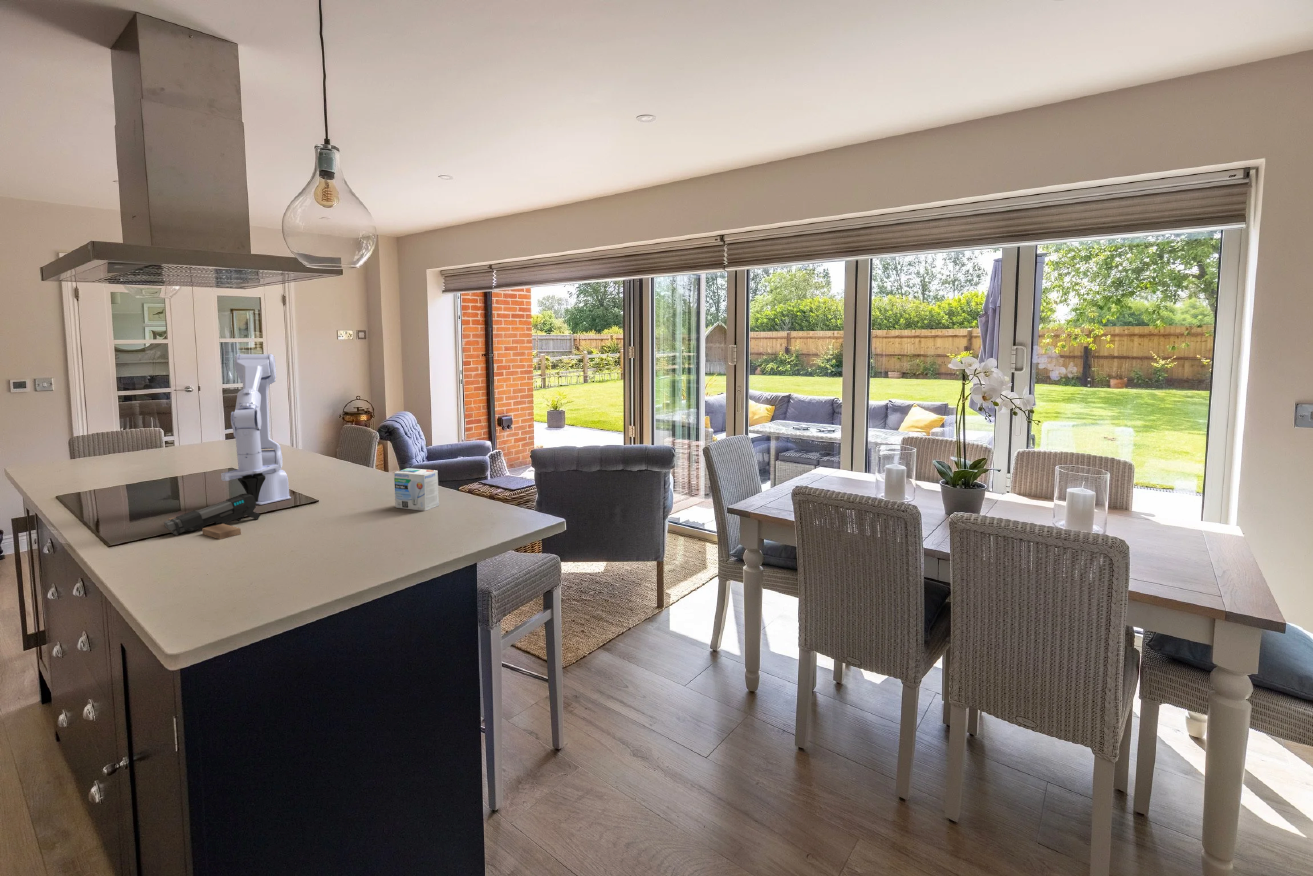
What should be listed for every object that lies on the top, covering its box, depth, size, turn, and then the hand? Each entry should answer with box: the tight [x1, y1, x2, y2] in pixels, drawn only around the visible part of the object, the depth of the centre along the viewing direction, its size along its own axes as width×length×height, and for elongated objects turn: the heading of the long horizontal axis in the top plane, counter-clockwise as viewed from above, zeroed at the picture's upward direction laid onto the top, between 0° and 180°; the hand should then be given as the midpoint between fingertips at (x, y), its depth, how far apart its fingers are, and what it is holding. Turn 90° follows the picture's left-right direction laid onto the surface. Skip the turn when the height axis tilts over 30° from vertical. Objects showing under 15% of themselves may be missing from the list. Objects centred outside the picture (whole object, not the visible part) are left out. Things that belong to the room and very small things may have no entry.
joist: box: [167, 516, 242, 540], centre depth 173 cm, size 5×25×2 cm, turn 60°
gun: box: [163, 492, 261, 536], centre depth 175 cm, size 4×20×10 cm, turn 141°
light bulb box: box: [393, 467, 440, 512], centre depth 196 cm, size 11×7×11 cm, turn 73°
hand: (253, 501), depth 184 cm, fingers closed
